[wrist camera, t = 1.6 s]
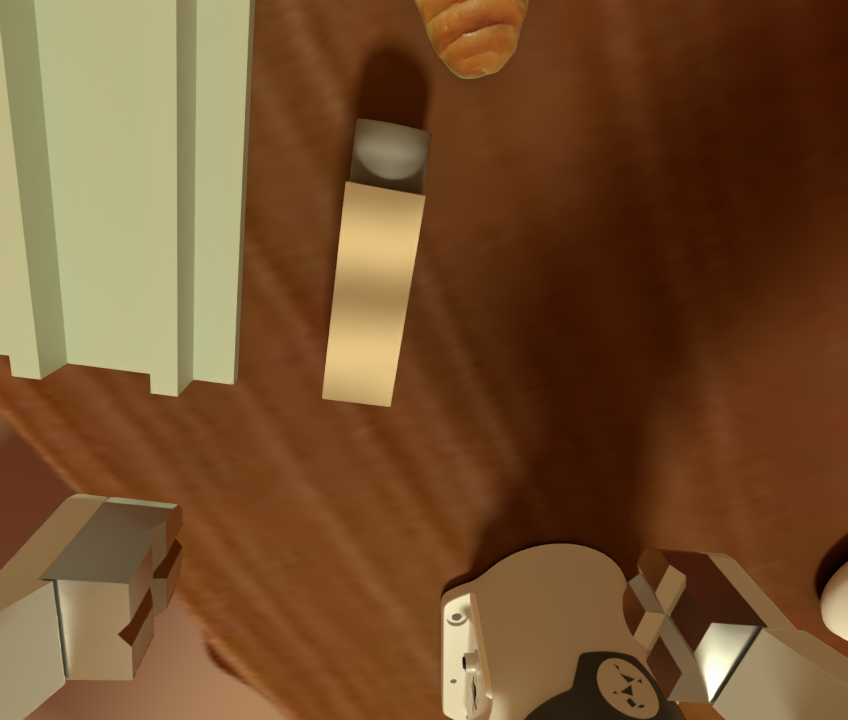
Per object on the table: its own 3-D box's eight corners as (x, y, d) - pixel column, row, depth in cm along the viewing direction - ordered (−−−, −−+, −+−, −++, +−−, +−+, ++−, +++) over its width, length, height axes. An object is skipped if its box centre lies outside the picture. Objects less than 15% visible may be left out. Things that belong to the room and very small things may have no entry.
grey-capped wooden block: (389, 373, 33) (390, 406, 28) (331, 365, 32) (322, 398, 28) (427, 137, 28) (436, 131, 23) (358, 123, 27) (352, 114, 22)
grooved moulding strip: (237, 378, 32) (221, 401, 29) (8, 348, 30) (-37, 369, 27) (255, -14, 24) (235, -42, 21) (-52, -87, 22) (-126, -130, 19)
